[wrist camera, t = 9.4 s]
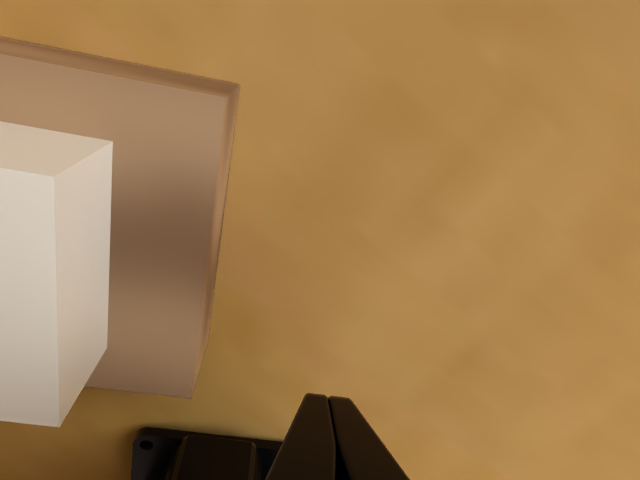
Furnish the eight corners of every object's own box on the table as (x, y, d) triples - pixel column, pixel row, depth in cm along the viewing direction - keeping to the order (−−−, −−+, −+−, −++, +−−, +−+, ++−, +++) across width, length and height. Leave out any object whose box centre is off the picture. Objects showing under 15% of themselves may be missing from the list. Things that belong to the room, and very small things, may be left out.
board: (207, 340, 17) (190, 398, 15) (-124, 295, 16) (-212, 350, 13) (240, 84, 14) (226, 97, 11) (-181, 0, 13) (-314, -8, 10)
